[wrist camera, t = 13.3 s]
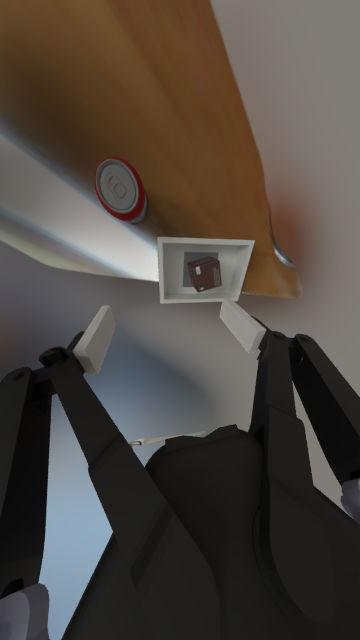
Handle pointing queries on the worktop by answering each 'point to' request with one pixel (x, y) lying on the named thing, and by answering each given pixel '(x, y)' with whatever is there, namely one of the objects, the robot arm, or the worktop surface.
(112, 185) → the beverage can
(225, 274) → the tray
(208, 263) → the box
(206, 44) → the worktop surface
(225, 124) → the worktop surface
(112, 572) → the robot arm
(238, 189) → the worktop surface
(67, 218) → the worktop surface
